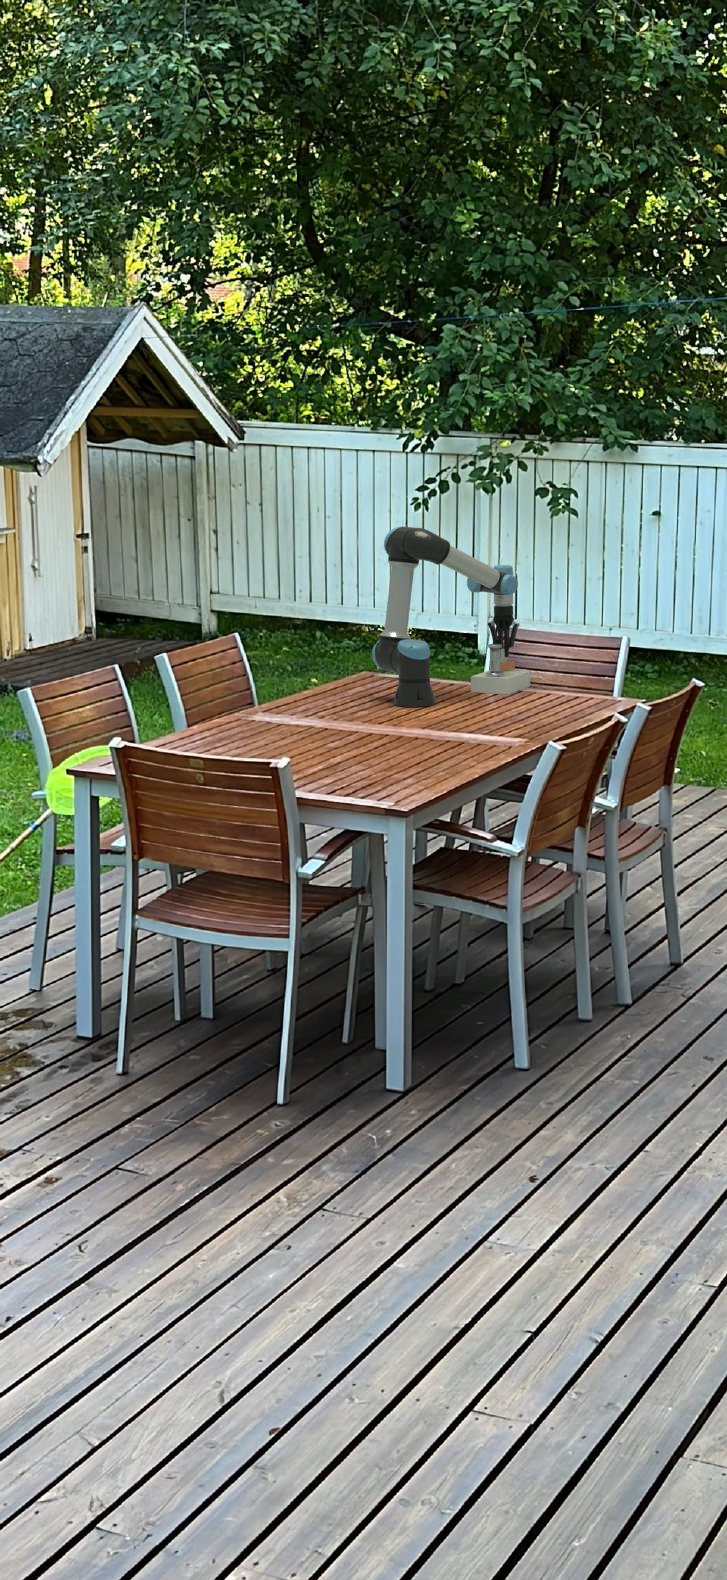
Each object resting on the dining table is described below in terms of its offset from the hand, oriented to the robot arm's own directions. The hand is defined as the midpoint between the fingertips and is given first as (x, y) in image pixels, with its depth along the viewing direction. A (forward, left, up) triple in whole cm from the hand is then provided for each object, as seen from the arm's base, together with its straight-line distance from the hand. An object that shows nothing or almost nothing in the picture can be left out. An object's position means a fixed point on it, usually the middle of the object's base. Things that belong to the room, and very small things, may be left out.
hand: (503, 665), depth 702 cm
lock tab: (+1, -4, -2) cm, 4 cm away
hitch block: (+3, -10, -8) cm, 13 cm away
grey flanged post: (+3, -15, -5) cm, 16 cm away
